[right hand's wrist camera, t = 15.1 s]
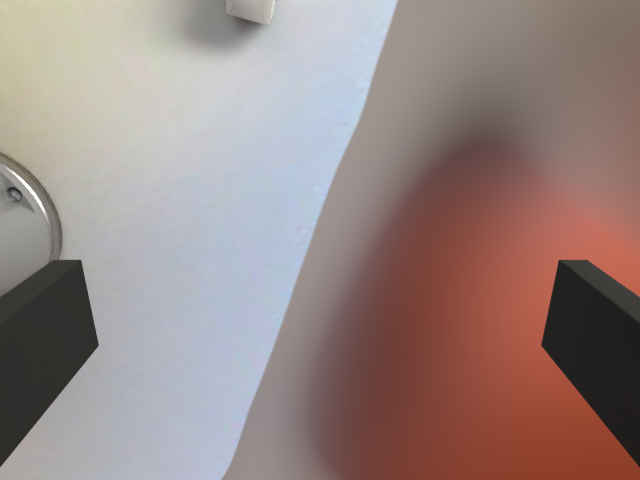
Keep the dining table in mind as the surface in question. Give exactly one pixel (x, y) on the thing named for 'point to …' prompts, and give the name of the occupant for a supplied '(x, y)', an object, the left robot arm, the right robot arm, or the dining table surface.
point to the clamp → (252, 9)
